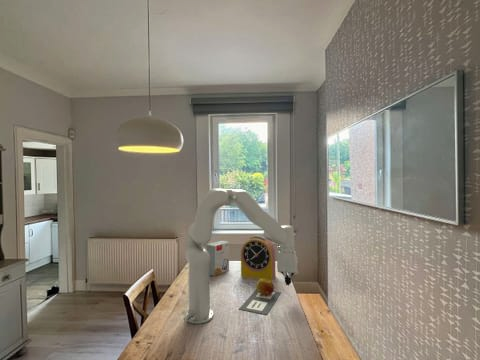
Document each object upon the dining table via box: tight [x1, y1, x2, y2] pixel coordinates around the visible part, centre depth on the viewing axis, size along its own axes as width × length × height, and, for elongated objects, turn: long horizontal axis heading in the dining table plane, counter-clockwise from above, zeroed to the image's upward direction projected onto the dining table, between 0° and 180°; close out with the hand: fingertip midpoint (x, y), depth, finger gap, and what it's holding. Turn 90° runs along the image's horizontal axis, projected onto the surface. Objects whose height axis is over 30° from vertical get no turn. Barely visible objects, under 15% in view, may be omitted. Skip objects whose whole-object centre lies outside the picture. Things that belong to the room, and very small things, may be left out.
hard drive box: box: [206, 240, 230, 277], centre depth 177 cm, size 16×8×20 cm, turn 143°
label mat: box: [238, 288, 282, 316], centre depth 134 cm, size 26×14×1 cm, turn 157°
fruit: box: [256, 278, 275, 295], centre depth 140 cm, size 10×9×8 cm
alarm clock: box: [240, 235, 277, 282], centre depth 168 cm, size 21×9×26 cm, turn 67°
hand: (288, 284), depth 135 cm, fingers closed
